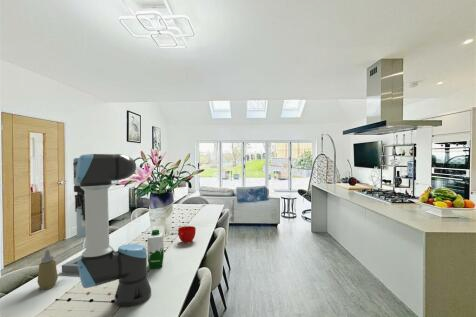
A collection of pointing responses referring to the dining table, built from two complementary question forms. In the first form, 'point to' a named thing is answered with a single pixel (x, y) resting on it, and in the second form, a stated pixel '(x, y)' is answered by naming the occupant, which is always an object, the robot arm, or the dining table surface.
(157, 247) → the milk carton
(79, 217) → the cartridge
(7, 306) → the dining table surface
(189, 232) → the ceramic cup
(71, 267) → the housing
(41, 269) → the squeeze bottle
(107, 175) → the robot arm
